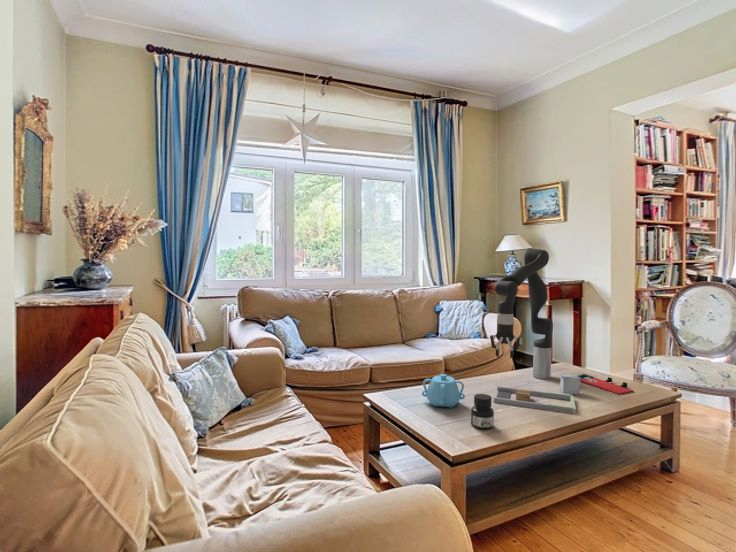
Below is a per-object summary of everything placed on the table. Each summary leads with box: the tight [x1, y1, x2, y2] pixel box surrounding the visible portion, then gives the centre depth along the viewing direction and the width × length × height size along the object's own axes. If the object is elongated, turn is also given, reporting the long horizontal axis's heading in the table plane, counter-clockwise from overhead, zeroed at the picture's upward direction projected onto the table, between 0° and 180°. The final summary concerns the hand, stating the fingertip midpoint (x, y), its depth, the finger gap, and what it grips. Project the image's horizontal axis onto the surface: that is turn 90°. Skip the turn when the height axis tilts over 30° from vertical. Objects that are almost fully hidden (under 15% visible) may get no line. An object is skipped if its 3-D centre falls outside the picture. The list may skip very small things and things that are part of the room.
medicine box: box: [559, 374, 581, 395], centre depth 207 cm, size 8×4×9 cm, turn 84°
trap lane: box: [493, 385, 577, 415], centre depth 196 cm, size 19×34×2 cm, turn 67°
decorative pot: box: [421, 373, 466, 408], centre depth 192 cm, size 16×16×14 cm
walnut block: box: [515, 388, 531, 402], centre depth 198 cm, size 6×6×4 cm
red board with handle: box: [576, 373, 635, 396], centre depth 221 cm, size 30×3×15 cm
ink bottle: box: [470, 393, 495, 431], centre depth 168 cm, size 10×9×12 cm
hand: (504, 357), depth 200 cm, fingers open, 5 cm apart
